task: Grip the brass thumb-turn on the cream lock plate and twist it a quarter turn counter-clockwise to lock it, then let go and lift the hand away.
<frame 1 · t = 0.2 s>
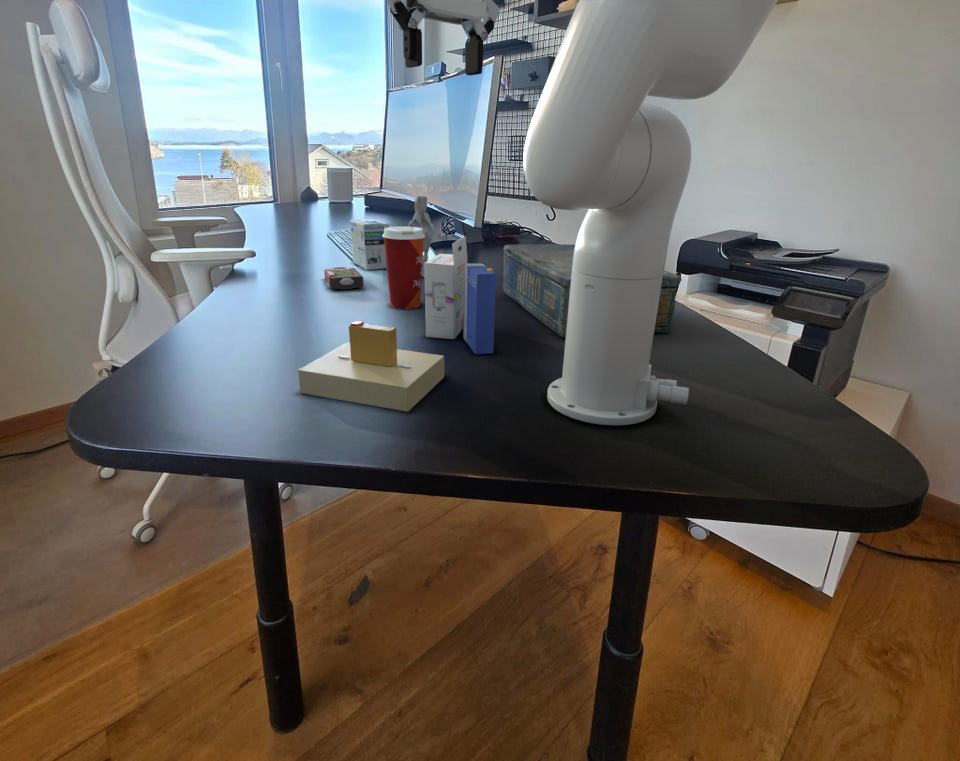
hand: (444, 70, 74), 37 cm above the table, tool pointing down, fingers open, 9 cm apart
ink cartridge box: (446, 332, 89), on the table
light bulb box: (371, 266, 137), on the table
brown red carton: (343, 284, 118), on the table
metal box: (576, 312, 102), on the table
paper cup: (405, 306, 103), on the table
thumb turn: (373, 343, 65), point 5 cm above the table, hinge at 0.0°
walkman: (477, 346, 82), on the table
human figurine: (422, 278, 126), on the table
lock plate: (375, 385, 68), on the table
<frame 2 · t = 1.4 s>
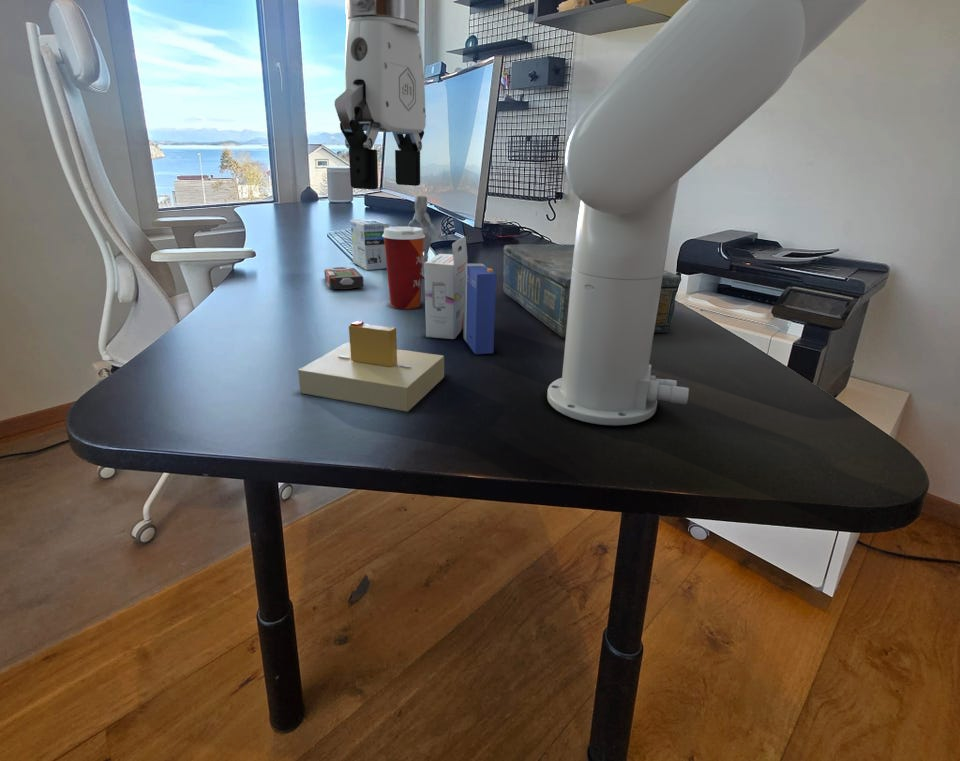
hand: (387, 186, 64), 23 cm above the table, tool pointing down, fingers open, 9 cm apart
nothing on the table moved.
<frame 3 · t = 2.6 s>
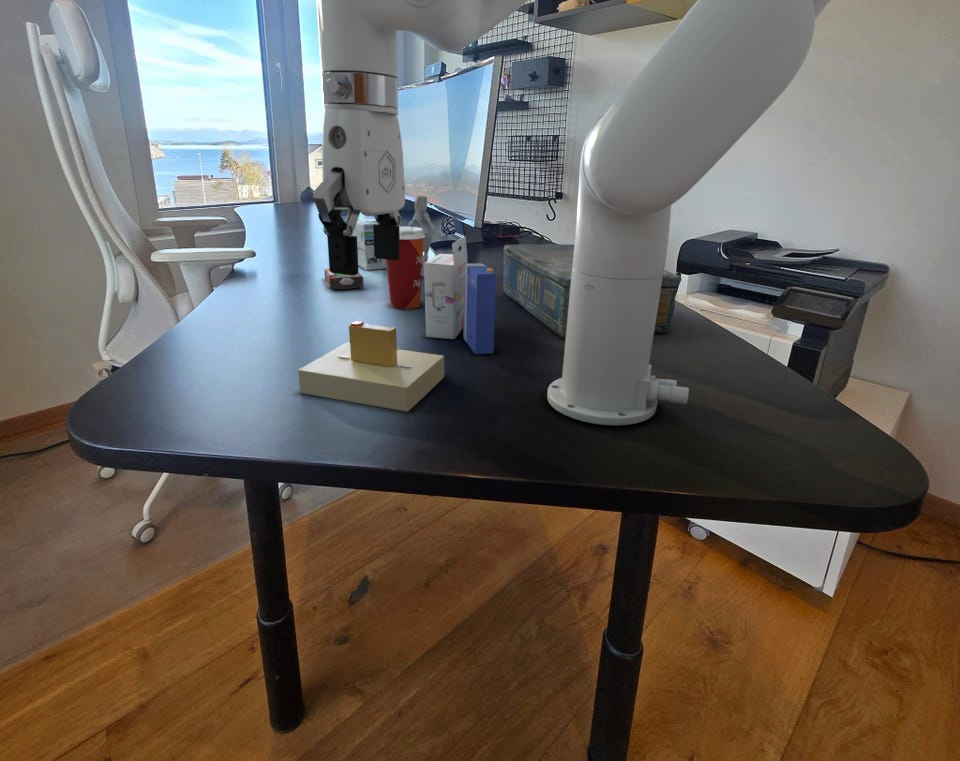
hand: (367, 265, 62), 15 cm above the table, tool pointing down, fingers open, 9 cm apart
nothing on the table moved.
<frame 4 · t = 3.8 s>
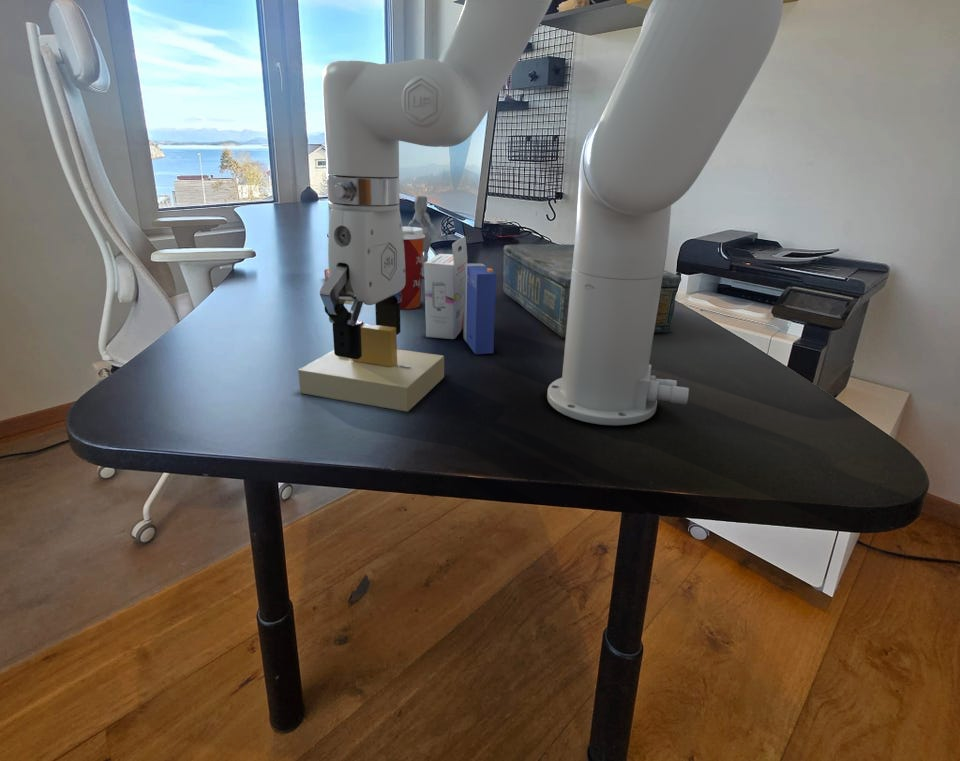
hand: (369, 343, 66), 5 cm above the table, tool pointing down, fingers open, 9 cm apart
nothing on the table moved.
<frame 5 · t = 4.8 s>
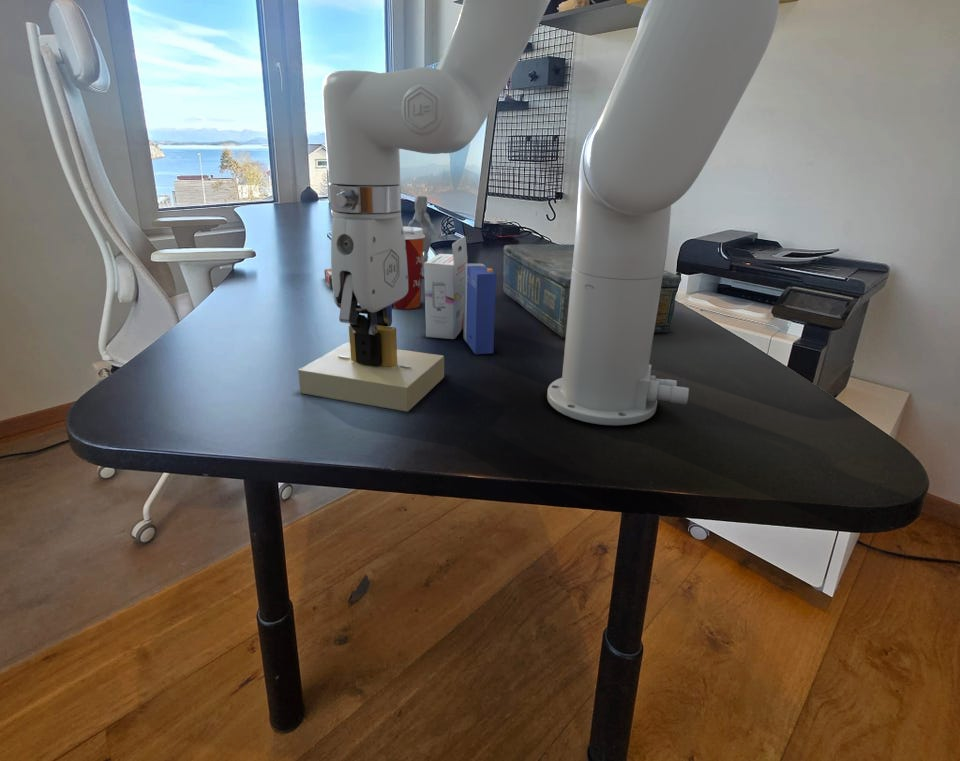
hand: (374, 359, 66), 3 cm above the table, tool pointing down, fingers closed on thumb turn
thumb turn: (373, 343, 65), point 5 cm above the table, hinge at 0.0°, touching gripper
everything else where it was.
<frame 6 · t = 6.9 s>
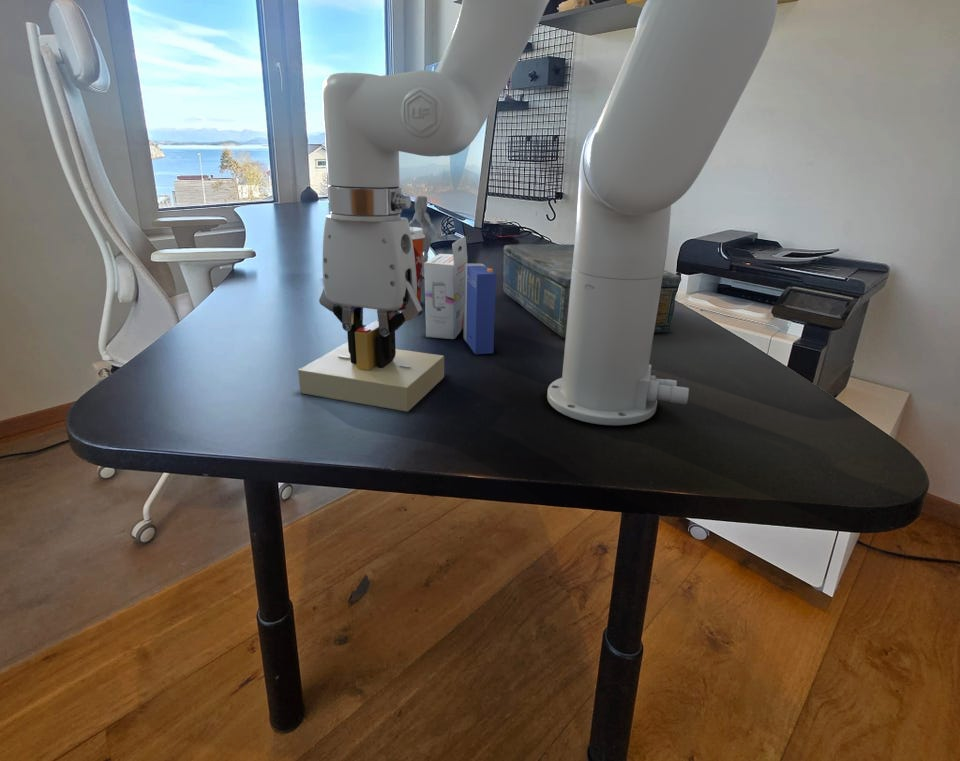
hand: (372, 360, 66), 3 cm above the table, tool pointing down, fingers closed
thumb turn: (373, 343, 65), point 5 cm above the table, hinge at 89.9°
everything else where it was.
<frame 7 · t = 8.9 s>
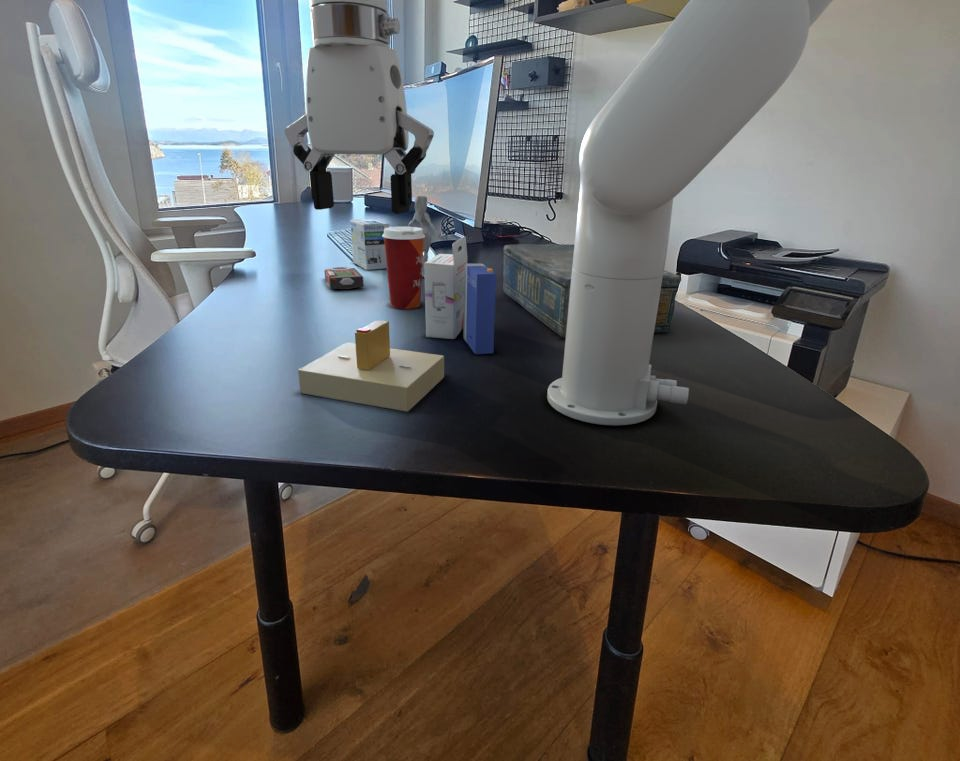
hand: (361, 210, 62), 21 cm above the table, tool pointing down, fingers open, 9 cm apart
nothing on the table moved.
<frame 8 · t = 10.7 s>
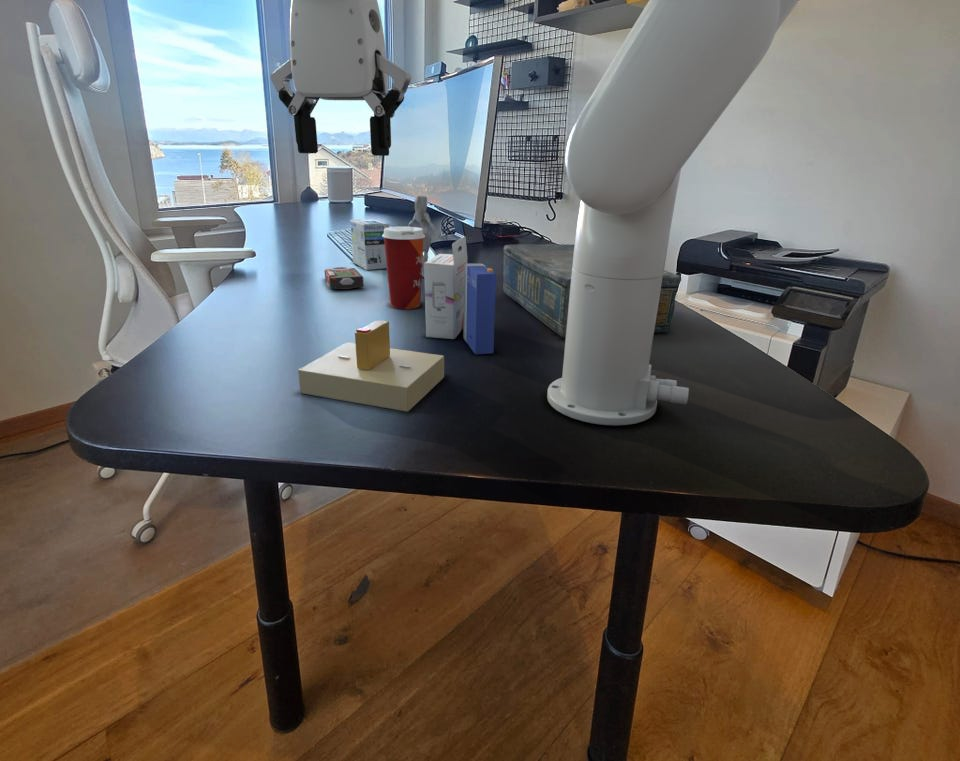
hand: (343, 154, 64), 26 cm above the table, tool pointing down, fingers open, 9 cm apart
nothing on the table moved.
at the end: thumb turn at +90° (first picture: +0°) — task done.
